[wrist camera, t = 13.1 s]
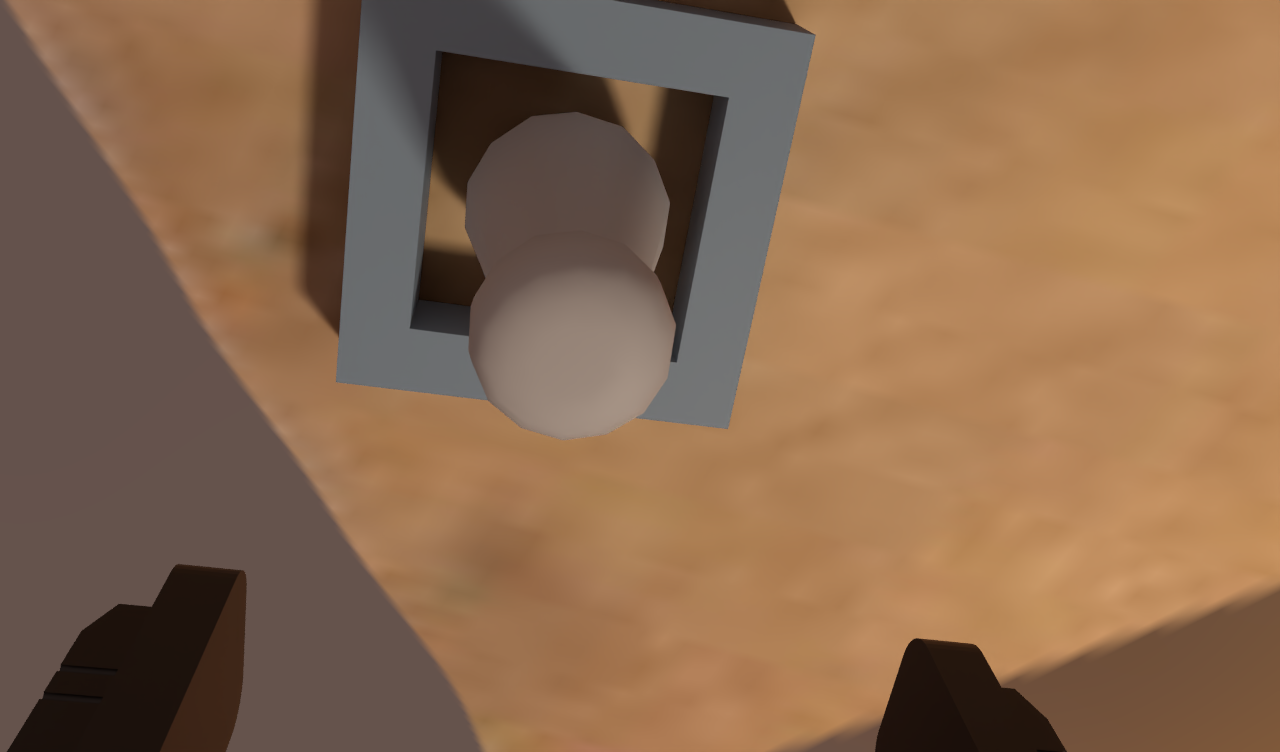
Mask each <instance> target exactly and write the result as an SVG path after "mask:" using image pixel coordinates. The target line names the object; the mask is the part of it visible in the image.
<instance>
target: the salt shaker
mask: <svg viewBox="0 0 1280 752" xmlns="http://www.w3.org/2000/svg"><path fill="white" fill-rule="evenodd" d="M669 207H670V201H669V198H668V196H667V193H666V190H665V187H664V185H663V182H662V179H661V176H660V173H659V171H658V168H657V165H656V162H655V160H654V159H653V158H652V157H651V156H650V155H649V154H648V153H647V152H646V151H645V150H644V149H643V148H642V146H641V145H640V144H639V143H638V142H637V141H636V140H635V139H634V138H633V137H632V136H631V135H630V134H629V133H628V132H627V131H626V130H625V128H624V127H622V126H619V125H616V124H613V123H610V122H607V121H604V120H601V119H598V118H594V117H591V116H588V115H585V114H582V113H579V112H568V113H558V114H548V115H537V116H531V117H530V118H528V119H526V120H525V121H523V122H522V123H520V124H519V125H517V126H516V127H514V128H513V129H511V130H510V131H508V132H507V133H505V134H504V135H502V136H501V137H499V138H498V139H496V140H495V141H493V142H492V143H491V144H490V146H489V147H488V149H487V151H486V152H485V154H484V156H483V157H482V159H481V161H480V162H479V164H478V166H477V167H476V169H475V171H474V172H473V174H472V176H471V177H470V179H469V181H468V183H467V200H466V217H465V229H466V231H467V234H468V236H469V239H470V241H471V243H472V246H473V248H474V251H475V253H476V255H477V258H478V260H479V263H480V265H481V267H482V270H483V273H484V276H485V280H484V282H483V283H482V285H481V286H480V288H479V290H478V291H477V293H476V294H475V296H474V298H473V301H472V304H471V310H470V328H469V346H468V351H469V354H470V358H471V361H472V364H473V366H474V369H475V371H476V373H477V376H478V378H479V380H480V383H481V385H482V387H483V390H484V392H485V394H486V397H487V399H488V401H489V402H490V403H492V404H493V405H494V406H495V407H496V408H498V409H499V410H500V411H501V412H503V413H504V414H505V415H506V416H507V417H509V418H510V419H511V420H512V421H513V422H515V423H516V424H517V425H518V426H520V427H521V428H523V429H527V430H530V431H533V432H537V433H540V434H543V435H547V436H550V437H554V438H557V439H560V440H569V439H576V438H584V437H591V436H599V435H606V434H608V433H610V432H612V431H613V430H615V429H617V428H619V427H620V426H622V425H624V424H626V423H627V422H629V421H631V420H633V419H634V418H636V417H638V416H640V415H641V414H643V413H644V412H645V411H646V409H647V408H648V406H649V405H650V403H651V402H652V400H653V399H654V397H655V396H656V394H657V393H658V391H659V390H660V388H661V387H662V386H663V384H664V383H665V381H666V380H667V378H668V372H669V367H670V360H671V354H672V348H673V341H674V335H675V329H676V323H675V321H674V318H673V315H672V312H671V310H670V307H669V304H668V301H667V299H666V296H665V293H664V290H663V288H662V285H661V283H660V281H659V279H658V277H657V275H656V274H655V273H654V270H655V267H656V265H657V262H658V259H659V257H660V254H661V251H662V249H663V245H664V238H665V232H666V226H667V220H668V213H669Z"/></svg>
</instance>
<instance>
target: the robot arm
mask: <svg viewBox="0 0 1280 752" xmlns="http://www.w3.org/2000/svg"><path fill="white" fill-rule="evenodd" d="M246 585H247V583H246V574H245V572H244V571H243V570H233V569H223V568H212V567H202V566H192V565H182V564H178V565H176V566H175V567H174V568H173V569H172V571H171V573H170V575H169V576H168V578H167V580H166V582H165V584H164V586H163V587H162V589H161V591H160V593H159V595H158V597H157V598H156V600H155V602H154V604H153V606H152V607H147V606H135V605H126V604H118V605H117V606H115V607H114V608H113V609H111V610H110V611H108V612H107V613H106V614H104V615H103V616H102V617H100V618H99V619H97V620H96V621H95V622H93V623H92V624H91V625H89V626H88V627H86V628H85V629H84V630H82V631H81V633H80V634H79V636H78V638H77V639H76V641H75V642H74V644H73V646H72V647H71V649H70V650H69V652H68V654H67V655H66V657H65V659H64V660H63V662H62V663H61V668H60V671H57V672H56V673H55V675H54V676H53V678H52V680H51V681H50V683H49V685H48V686H47V688H46V689H45V691H44V696H43V699H39V701H38V703H37V704H36V706H35V707H34V709H33V710H32V712H31V714H30V715H29V717H28V719H27V720H26V722H25V724H24V725H23V727H22V728H21V730H20V731H19V733H18V735H17V736H16V738H15V740H14V741H13V743H12V745H11V746H10V748H9V749H8V751H7V752H226V750H227V747H228V744H229V741H230V739H231V736H232V733H233V730H234V726H235V723H236V719H237V714H238V710H239V704H240V698H241V692H242V683H243V666H244V639H245V614H246V612H245V611H246ZM875 752H1067V751H1066V750H1065V748H1064V746H1063V745H1062V743H1061V741H1060V740H1059V738H1058V736H1057V735H1056V733H1055V731H1054V729H1053V728H1052V726H1051V724H1050V723H1049V721H1048V719H1047V718H1046V717H1044V716H1043V715H1042V714H1041V713H1040V712H1039V711H1038V710H1037V709H1036V708H1035V707H1034V706H1033V705H1032V704H1030V703H1029V702H1028V701H1027V700H1026V699H1025V698H1024V697H1023V696H1022V695H1020V693H1018V692H1017V691H1016V690H1015V689H1010V688H1001V686H1000V684H999V682H998V680H997V679H996V677H995V675H994V673H993V671H992V670H991V668H990V666H989V664H988V663H987V661H986V659H985V657H984V655H983V654H982V652H981V650H980V649H979V648H978V647H977V646H976V645H974V644H968V643H958V642H948V641H938V640H928V639H917V638H916V639H913V640H912V641H911V642H910V643H909V644H908V646H907V648H906V650H905V653H904V655H903V658H902V662H901V665H900V668H899V671H898V674H897V677H896V680H895V683H894V686H893V689H892V692H891V695H890V698H889V701H888V704H887V707H886V711H885V714H884V717H883V720H882V723H881V726H880V729H879V732H878V736H877V741H876V749H875Z"/></svg>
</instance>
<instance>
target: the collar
mask: <svg viewBox="0 0 1280 752" xmlns="http://www.w3.org/2000/svg"><path fill="white" fill-rule="evenodd" d="M814 40H815V34H813V33H811V32H809V31H807V30H806V29H804V28H802V27H800V26H799V25H797V24H792V23H786V22H780V21H774V20H768V19H762V18H757V17H751V16H745V15H739V14H733V13H728V12H722V11H716V10H710V9H704V8H699V7H693V6H687V5H681V4H675V3H669V2H664V1H658V0H362V4H361V19H360V34H359V49H358V63H357V78H356V93H355V108H354V123H353V137H352V152H351V167H350V182H349V196H348V211H347V226H346V241H345V256H344V270H343V285H342V300H341V315H340V330H339V344H338V359H337V374H336V382H339V383H347V384H356V385H364V386H372V387H381V388H389V389H398V390H406V391H414V392H423V393H431V394H439V395H448V396H456V397H465V398H473V399H481V400H488V399H487V397H486V394H485V392H484V390H483V387H482V385H481V383H480V380H479V378H478V376H477V373H476V371H475V369H474V366H473V364H472V361H471V358H470V354H469V351H468V346H469V328H470V310H471V306H463V305H456V304H448V303H440V302H433V301H425V300H419V291H420V281H421V270H422V260H423V250H424V239H425V229H426V219H427V208H428V198H429V187H430V177H431V167H432V156H433V146H434V136H435V125H436V115H437V104H438V94H439V84H440V73H441V63H442V53H443V52H449V53H455V54H462V55H468V56H474V57H480V58H486V59H493V60H499V61H505V62H511V63H517V64H524V65H530V66H536V67H542V68H548V69H555V70H561V71H567V72H573V73H579V74H586V75H592V76H598V77H604V78H610V79H617V80H623V81H629V82H635V83H641V84H648V85H654V86H660V87H666V88H672V89H679V90H685V91H691V92H697V93H703V94H710V95H714V98H713V103H712V108H711V114H710V119H709V124H708V129H707V135H706V140H705V145H704V150H703V155H702V161H701V166H700V171H699V176H698V181H697V187H696V192H695V197H694V202H693V208H692V213H691V218H690V223H689V228H688V234H687V239H686V244H685V249H684V254H683V260H682V265H681V270H680V275H679V281H678V286H677V291H676V296H675V301H674V307H673V312H672V315H673V318H674V321H675V323H676V329H675V335H674V341H673V348H672V354H671V360H670V367H669V372H668V378H667V380H666V381H665V383H664V384H663V386H662V387H661V388H660V390H659V391H658V393H657V394H656V396H655V397H654V399H653V400H652V402H651V403H650V405H649V406H648V408H647V409H646V411H645V412H644V413H643V414H641V415H640V416H638V417H636V418H640V419H649V420H657V421H665V422H674V423H682V424H691V425H699V426H707V427H716V428H724V429H728V426H729V422H730V417H731V413H732V408H733V404H734V399H735V395H736V390H737V386H738V381H739V377H740V372H741V368H742V363H743V359H744V354H745V350H746V346H747V341H748V337H749V332H750V328H751V323H752V319H753V314H754V310H755V305H756V301H757V296H758V292H759V287H760V283H761V278H762V274H763V269H764V265H765V260H766V256H767V251H768V247H769V242H770V238H771V233H772V229H773V224H774V220H775V215H776V211H777V206H778V202H779V197H780V193H781V188H782V184H783V179H784V175H785V170H786V166H787V161H788V157H789V152H790V148H791V143H792V139H793V134H794V130H795V125H796V121H797V116H798V112H799V107H800V103H801V98H802V94H803V89H804V85H805V80H806V76H807V71H808V67H809V62H810V58H811V53H812V49H813V44H814Z"/></svg>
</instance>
